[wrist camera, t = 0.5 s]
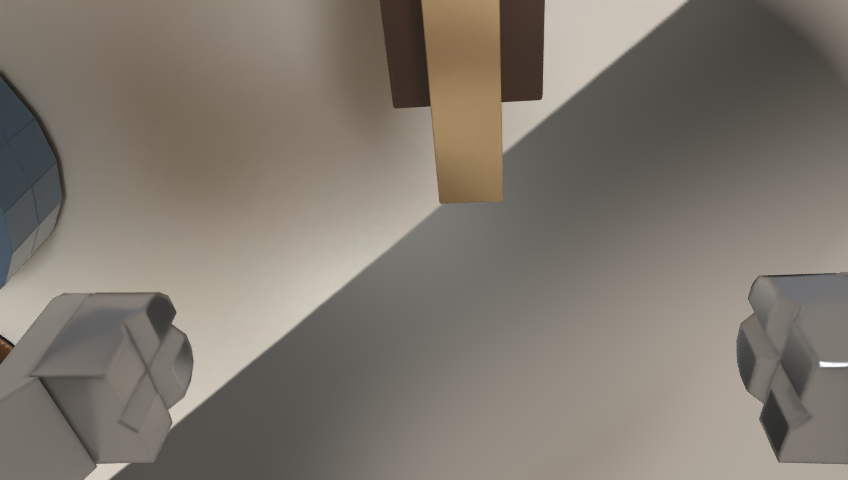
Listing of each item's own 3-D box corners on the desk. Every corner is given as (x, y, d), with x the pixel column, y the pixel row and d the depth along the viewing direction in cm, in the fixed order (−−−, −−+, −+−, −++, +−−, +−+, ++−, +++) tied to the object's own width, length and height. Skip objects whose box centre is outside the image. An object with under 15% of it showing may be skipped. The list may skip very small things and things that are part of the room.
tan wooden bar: (406, -222, 16) (401, -220, 15) (493, -231, 16) (495, -230, 15) (440, 182, 23) (439, 204, 22) (501, 180, 23) (503, 201, 22)
